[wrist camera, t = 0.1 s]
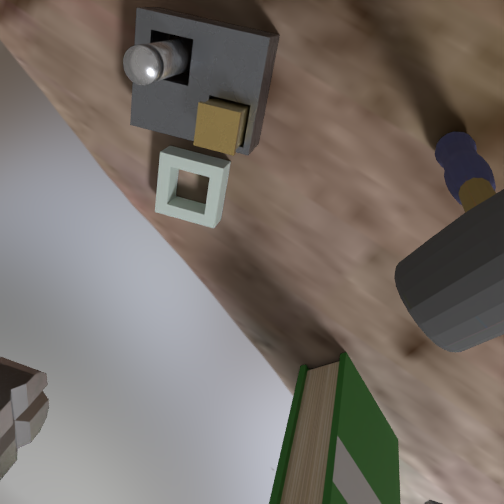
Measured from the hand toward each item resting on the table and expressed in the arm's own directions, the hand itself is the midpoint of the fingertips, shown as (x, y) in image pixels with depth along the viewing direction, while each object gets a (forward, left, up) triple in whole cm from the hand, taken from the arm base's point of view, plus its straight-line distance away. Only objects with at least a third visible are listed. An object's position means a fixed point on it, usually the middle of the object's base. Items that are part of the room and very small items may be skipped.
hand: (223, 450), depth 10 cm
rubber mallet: (+3, +12, -48) cm, 50 cm away
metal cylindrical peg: (0, -19, -48) cm, 52 cm away
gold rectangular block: (+5, -12, -45) cm, 47 cm away
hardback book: (+43, +12, -48) cm, 66 cm away
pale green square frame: (+15, -16, -48) cm, 53 cm away
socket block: (+2, -16, -48) cm, 50 cm away
